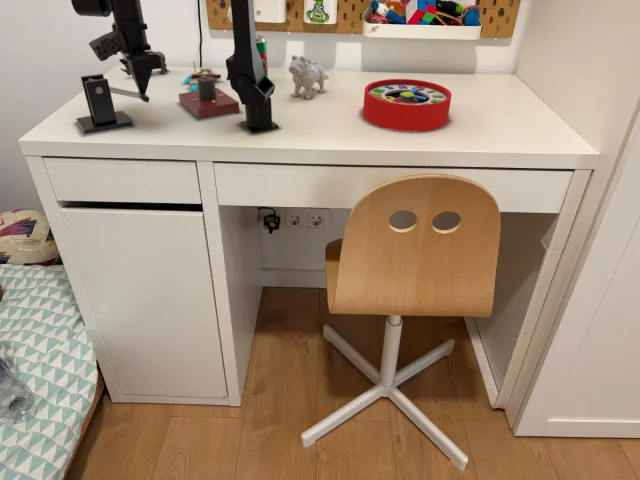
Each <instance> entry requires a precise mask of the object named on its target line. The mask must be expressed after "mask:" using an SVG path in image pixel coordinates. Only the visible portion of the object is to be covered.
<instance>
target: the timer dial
mask: <svg viewBox="0 0 640 480" xmlns="http://www.w3.org/2000/svg"><path fill="white" fill-rule="evenodd" d="M197 82H198V89H197V91H199V98H200V99H201V100H213V99H216V88H217V87H216V80H215V78H214V77H210V76H204V75H202V77H199V78H198V79H197Z"/></svg>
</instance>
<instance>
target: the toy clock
mask: <svg viewBox="0 0 640 480" xmlns="http://www.w3.org/2000/svg"><path fill="white" fill-rule="evenodd" d="M452 96H453V95H452V92H451V91H450V90H449V89H448V88H447V87H445V86H442V85H440V84H437V83H434V82H430V81H426V80H420V79H411V78H387V79H382V80H375V81H373V82H370V83H368V84H367V85H366V86H365V87H364V94H363V108H362V116H363V118H364V119H365V121H367V122H368V123H370V124H372V125H374V126H376V127H378V128H383V129H387V130H391V131H397V132H409V133H412V132H413V133H416V132H428V131H433V130H437V129H441V128H442V127H444V126H445V125H447V123H448V121H449V115H450V114H449V113H450V108H451V101H452Z"/></svg>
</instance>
